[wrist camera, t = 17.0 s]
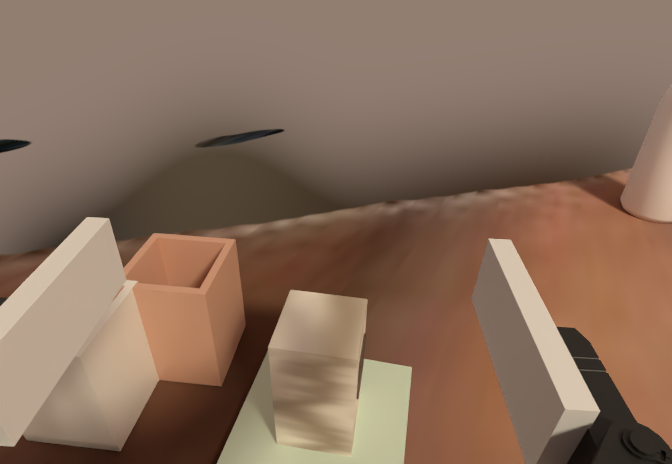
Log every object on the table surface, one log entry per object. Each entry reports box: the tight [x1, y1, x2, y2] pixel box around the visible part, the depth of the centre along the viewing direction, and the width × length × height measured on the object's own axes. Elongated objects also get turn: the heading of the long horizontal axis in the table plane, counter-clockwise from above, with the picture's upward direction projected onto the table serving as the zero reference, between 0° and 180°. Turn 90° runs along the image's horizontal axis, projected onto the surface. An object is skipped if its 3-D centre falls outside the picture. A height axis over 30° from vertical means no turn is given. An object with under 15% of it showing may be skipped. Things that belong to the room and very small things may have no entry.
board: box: [217, 351, 412, 464], centre depth 38 cm, size 14×14×1 cm
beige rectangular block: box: [268, 290, 367, 457], centre depth 34 cm, size 6×6×11 cm
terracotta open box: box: [113, 233, 246, 386], centre depth 41 cm, size 8×8×11 cm
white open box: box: [23, 280, 159, 451], centre depth 36 cm, size 8×8×11 cm
